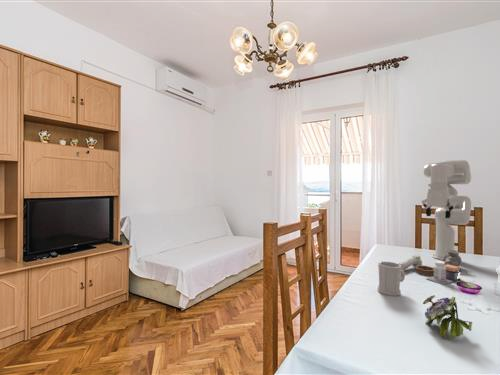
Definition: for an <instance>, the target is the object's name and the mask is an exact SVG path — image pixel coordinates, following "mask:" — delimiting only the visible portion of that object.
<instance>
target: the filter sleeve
mask: <svg viewBox="0 0 500 375" xmlns="http://www.w3.org/2000/svg"><path fill="white" fill-rule="evenodd" d="M414 272H415V273H416V274H419V275H422V276H429V277H433V276H434V266H433V267H432V266H428V265H423V264H422V265H417V266H414Z"/></svg>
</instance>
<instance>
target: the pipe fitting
mask: <svg viewBox="0 0 500 375" xmlns="http://www.w3.org/2000/svg"><path fill="white" fill-rule="evenodd" d="M443 262H445V265H447V264H449V265H453V266H457V267H460V266H461V265H462V257H461V256H460V252H459V251H457V250H455V249H454V250H448V253H447V254H446V255H445V256H444V260H443Z"/></svg>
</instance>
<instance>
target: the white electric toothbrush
mask: <svg viewBox="0 0 500 375" xmlns="http://www.w3.org/2000/svg"><path fill="white" fill-rule="evenodd" d="M398 264H399V265H401V270H403V271H404V272H405V271H406V270H407V269H409V268H410V267H411V266H412V267H415V266H417V265H422V266H423V259H421V256H420V255H419V254H413V255H412V257H410V258H409V259H407V260H404V261H403V262H399V263H398Z"/></svg>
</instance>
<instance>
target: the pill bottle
mask: <svg viewBox="0 0 500 375" xmlns="http://www.w3.org/2000/svg"><path fill="white" fill-rule="evenodd" d="M433 268H434V279H435V280H439V281H445V280H446V267H445V262H444V261H442V260H441V261H440V260H436V261H434V266H433Z"/></svg>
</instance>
